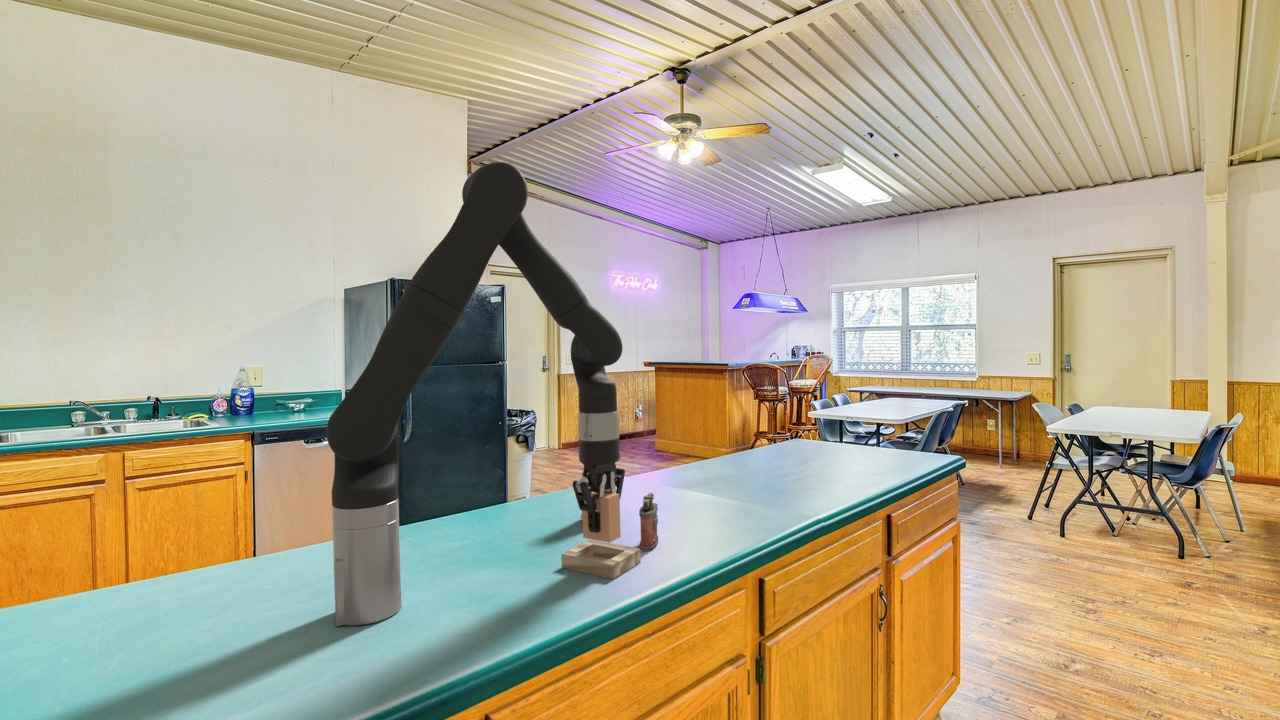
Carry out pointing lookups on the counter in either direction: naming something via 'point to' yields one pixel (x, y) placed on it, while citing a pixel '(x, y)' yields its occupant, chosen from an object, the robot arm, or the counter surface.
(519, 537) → the counter surface
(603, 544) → the frame
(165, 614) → the counter surface
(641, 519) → the lighter
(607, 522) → the key block
